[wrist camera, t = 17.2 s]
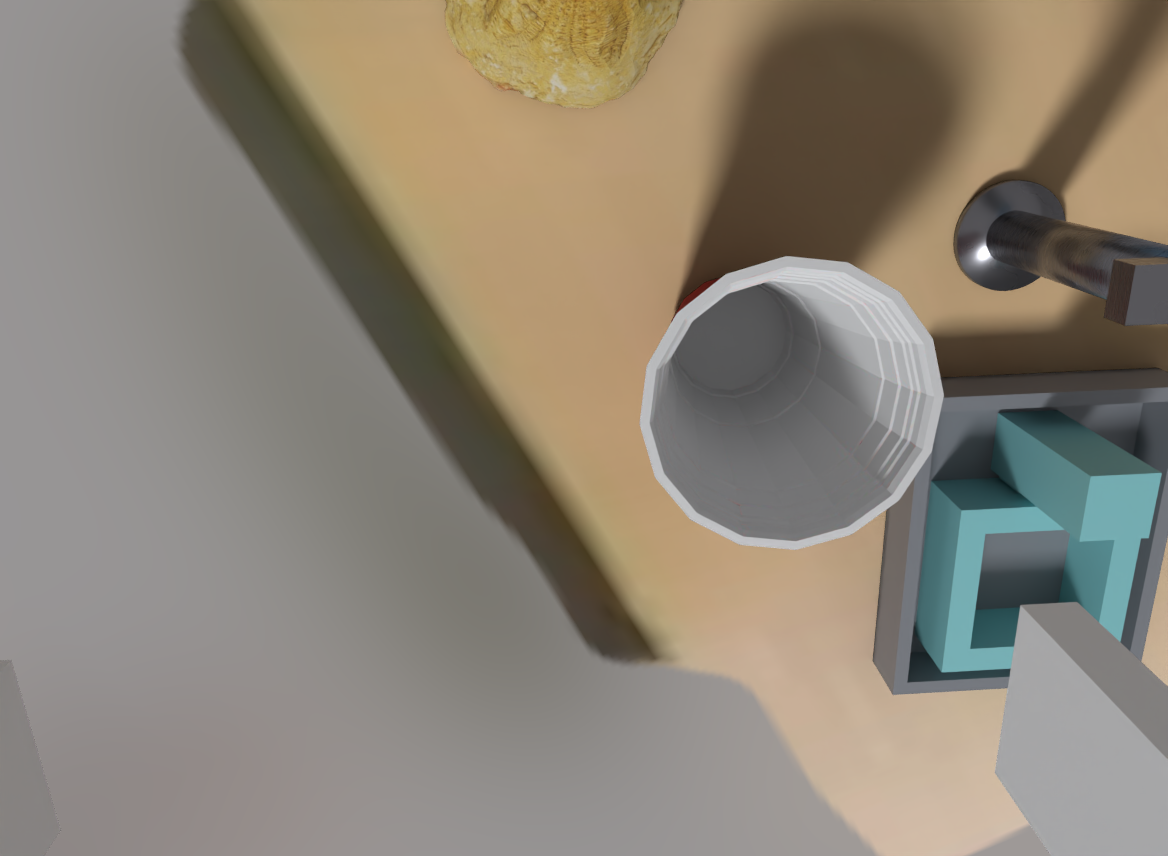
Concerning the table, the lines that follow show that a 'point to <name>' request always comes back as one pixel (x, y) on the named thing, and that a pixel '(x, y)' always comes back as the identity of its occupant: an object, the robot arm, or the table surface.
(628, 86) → the fossil
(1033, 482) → the tabbed collar
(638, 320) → the table surface
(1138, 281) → the t stake
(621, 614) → the table surface
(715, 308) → the plastic cup
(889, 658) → the tray
